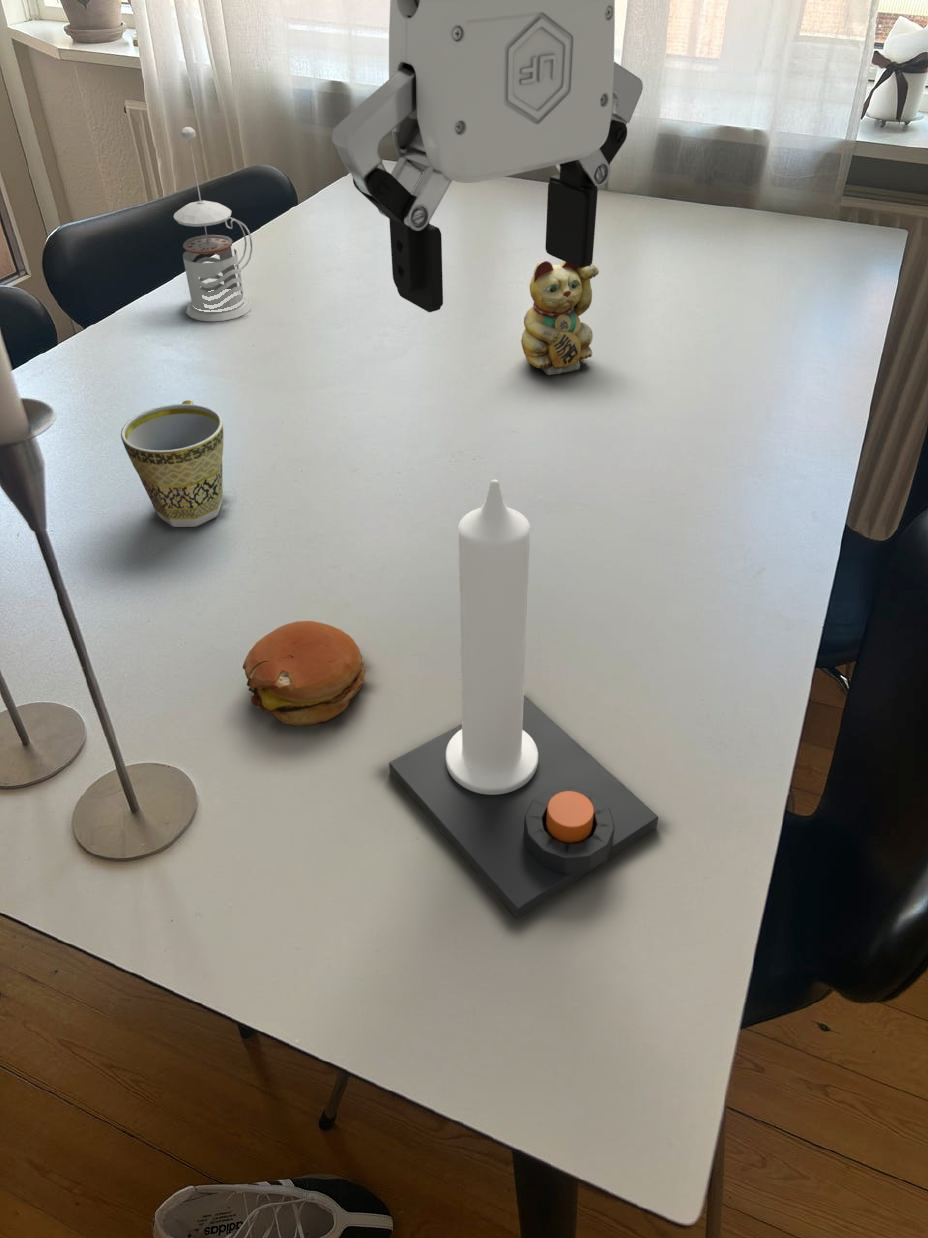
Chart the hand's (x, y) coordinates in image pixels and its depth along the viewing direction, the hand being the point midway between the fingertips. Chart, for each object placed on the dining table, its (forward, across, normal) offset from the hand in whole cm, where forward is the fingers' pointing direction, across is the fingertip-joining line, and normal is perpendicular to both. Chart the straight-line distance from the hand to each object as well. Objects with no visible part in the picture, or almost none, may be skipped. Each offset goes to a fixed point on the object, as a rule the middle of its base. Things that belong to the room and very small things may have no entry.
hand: (497, 280), depth 50 cm
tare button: (+36, 0, -9) cm, 37 cm away
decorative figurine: (+38, +50, +52) cm, 82 cm away
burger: (+38, -7, +16) cm, 42 cm away
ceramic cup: (+38, -3, +50) cm, 63 cm away
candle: (+37, 0, 0) cm, 37 cm away
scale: (+38, 0, -4) cm, 38 cm away
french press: (+38, +23, +98) cm, 107 cm away
